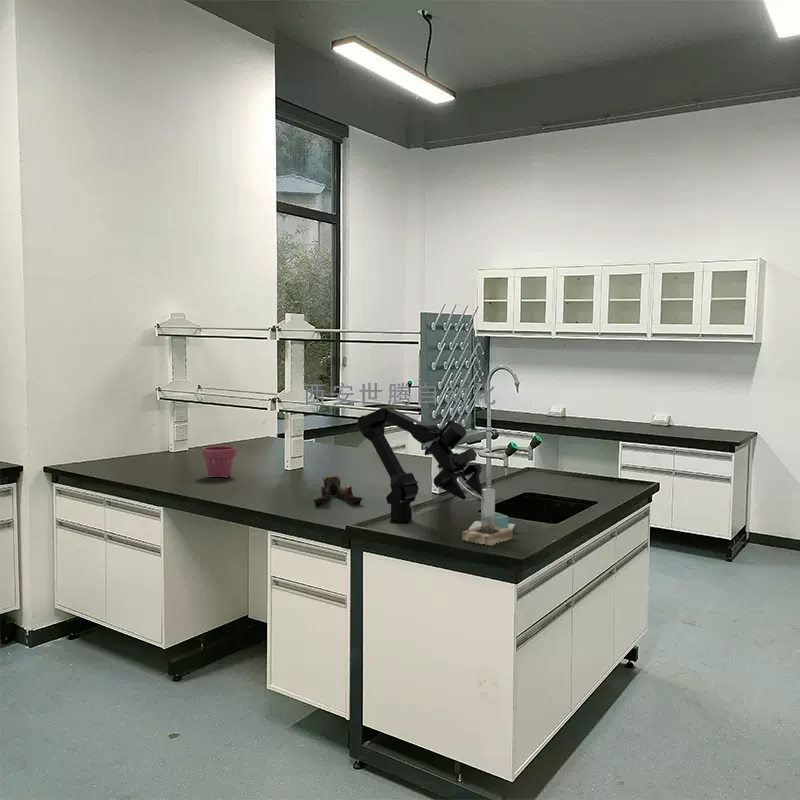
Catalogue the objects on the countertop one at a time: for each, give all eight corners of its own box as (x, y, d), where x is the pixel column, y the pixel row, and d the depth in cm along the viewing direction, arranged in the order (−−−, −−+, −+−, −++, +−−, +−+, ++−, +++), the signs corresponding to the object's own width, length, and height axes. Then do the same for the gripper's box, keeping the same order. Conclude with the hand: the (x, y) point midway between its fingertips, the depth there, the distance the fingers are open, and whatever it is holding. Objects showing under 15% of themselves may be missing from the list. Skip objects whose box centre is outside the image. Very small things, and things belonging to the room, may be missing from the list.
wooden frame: (462, 540, 218) (462, 531, 217) (484, 532, 227) (485, 524, 227) (490, 546, 211) (490, 537, 211) (512, 538, 220) (512, 530, 220)
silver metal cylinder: (480, 540, 217) (481, 490, 216) (481, 537, 221) (481, 488, 220) (494, 541, 217) (494, 491, 216) (494, 537, 221) (495, 488, 220)
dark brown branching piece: (363, 501, 286) (368, 476, 285) (358, 519, 262) (363, 493, 260) (320, 491, 286) (325, 467, 285) (310, 509, 262) (315, 483, 260)
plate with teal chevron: (468, 530, 229) (468, 517, 229) (475, 522, 240) (475, 510, 239) (510, 533, 225) (510, 520, 225) (514, 525, 236) (515, 513, 236)
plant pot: (215, 473, 331) (215, 445, 330) (242, 475, 326) (242, 446, 325) (196, 478, 318) (195, 448, 317) (223, 480, 313) (223, 450, 312)
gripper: (441, 443, 217) (471, 484, 210) (477, 437, 231) (506, 476, 224) (420, 466, 222) (449, 507, 216) (457, 460, 237) (485, 498, 230)
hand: (473, 496), depth 221 cm, fingers open, 9 cm apart
